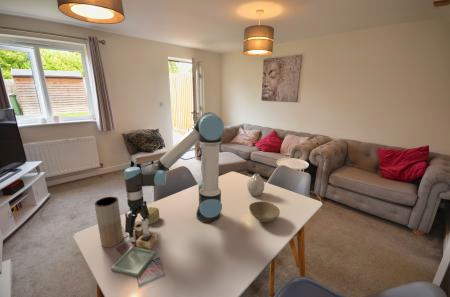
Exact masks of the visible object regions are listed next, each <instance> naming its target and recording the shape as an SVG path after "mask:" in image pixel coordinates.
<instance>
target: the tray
mask: <svg viewBox="0 0 450 297" xmlns="http://www.w3.org/2000/svg"><path fill="white" fill-rule="evenodd" d="M155 255H156V251H155V250H152V249H150V250H147V249H143V248H138V247H136V246H133V245H131V246H130V247H128V249H127V250H126V251H125V252H124V253H123V255H121V257H119V258H118V260H117V261H116V262H114V264H112V266H111V267H110V269H111V271H113V272H118V273H121V274H126V275H129V276H133V277H139V276H140V275H141V273H142V272H143V270H144V269H145V268H146V267H147V265H148V264H149V263H150V262H151V261H152V259H153V258H154V256H155ZM145 266H146V267H145ZM144 267H145V268H144ZM138 275H139V276H138Z"/></svg>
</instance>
